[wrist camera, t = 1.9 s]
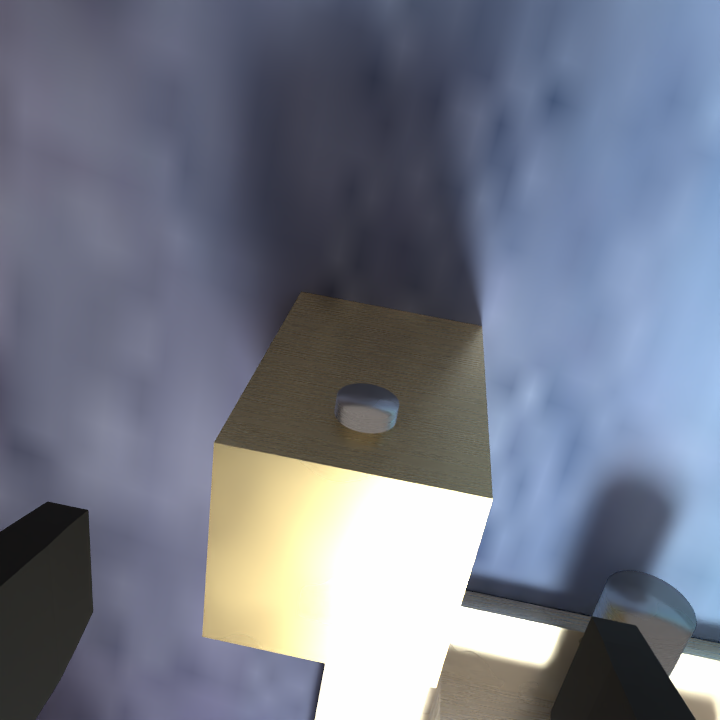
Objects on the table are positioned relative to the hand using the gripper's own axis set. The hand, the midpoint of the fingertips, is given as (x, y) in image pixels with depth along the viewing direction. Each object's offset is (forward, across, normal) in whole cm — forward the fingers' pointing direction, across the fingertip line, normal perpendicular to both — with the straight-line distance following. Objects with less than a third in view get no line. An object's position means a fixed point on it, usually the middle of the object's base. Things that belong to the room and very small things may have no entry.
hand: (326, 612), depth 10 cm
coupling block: (+7, 0, 0) cm, 7 cm away
